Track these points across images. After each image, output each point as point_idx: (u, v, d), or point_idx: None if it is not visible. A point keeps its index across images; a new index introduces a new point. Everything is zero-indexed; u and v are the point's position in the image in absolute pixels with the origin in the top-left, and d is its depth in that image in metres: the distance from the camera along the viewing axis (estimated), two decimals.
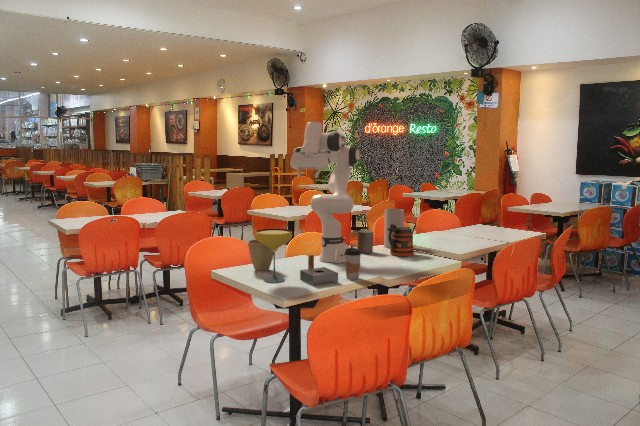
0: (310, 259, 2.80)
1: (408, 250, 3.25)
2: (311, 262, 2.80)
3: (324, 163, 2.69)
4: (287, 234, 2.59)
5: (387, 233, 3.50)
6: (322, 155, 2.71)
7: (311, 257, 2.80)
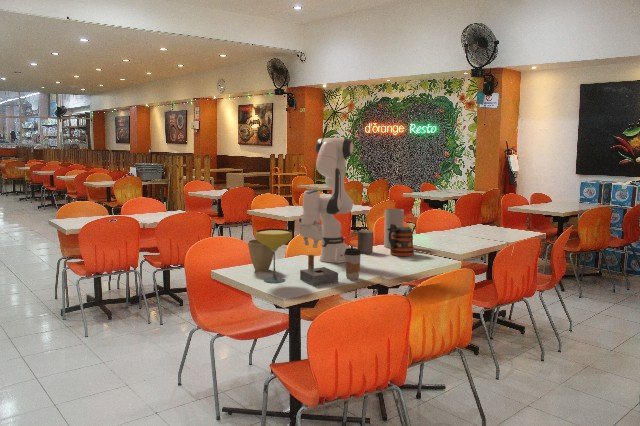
0: (310, 259, 2.80)
1: (408, 250, 3.25)
2: (311, 262, 2.80)
3: (316, 236, 2.70)
4: (287, 234, 2.59)
5: (387, 233, 3.50)
6: (314, 227, 2.71)
7: (311, 257, 2.80)
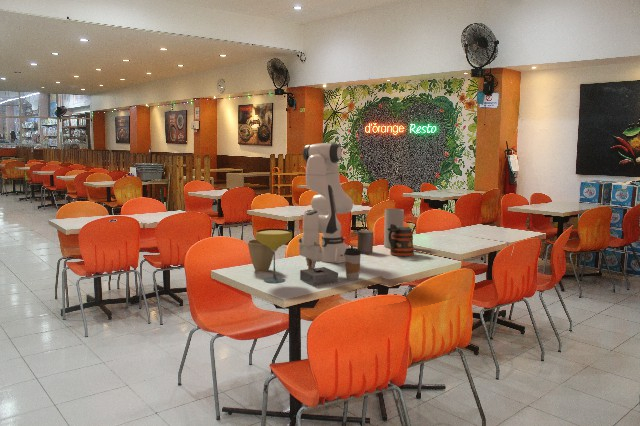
0: (310, 259, 2.80)
1: (408, 250, 3.25)
2: (311, 262, 2.80)
3: (316, 257, 2.72)
4: (287, 234, 2.59)
5: (387, 233, 3.50)
6: (314, 249, 2.73)
7: None
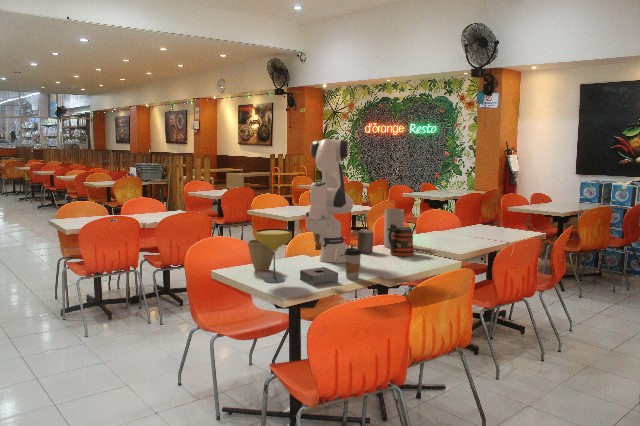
0: (318, 234, 2.62)
1: (408, 250, 3.25)
2: (319, 237, 2.62)
3: (324, 231, 2.54)
4: (287, 234, 2.59)
5: (387, 233, 3.50)
6: (323, 222, 2.55)
7: None
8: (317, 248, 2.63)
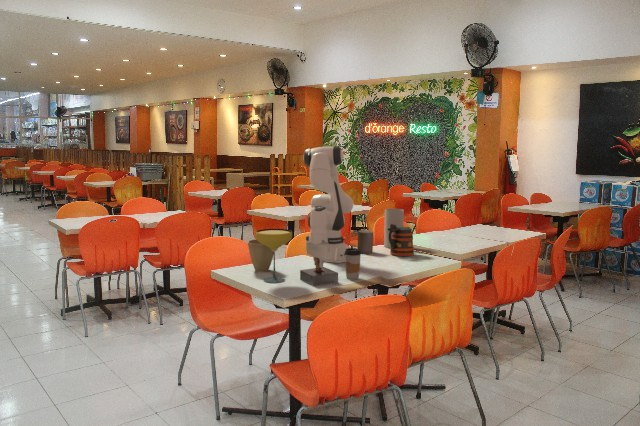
0: (318, 258, 2.63)
1: (408, 250, 3.25)
2: (319, 261, 2.64)
3: (324, 256, 2.56)
4: (287, 234, 2.59)
5: (387, 233, 3.50)
6: (323, 247, 2.57)
7: None
8: (317, 272, 2.64)
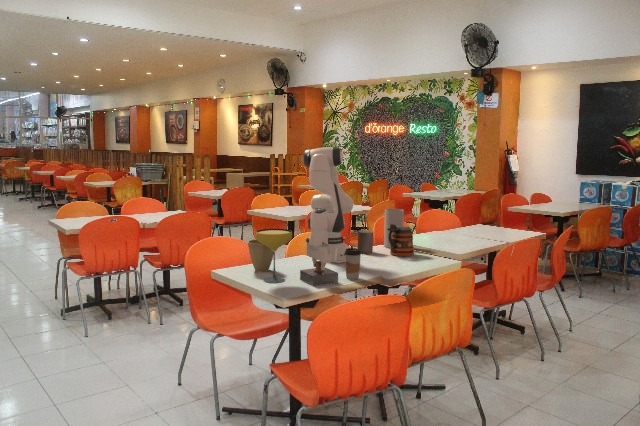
0: (318, 266, 2.64)
1: (408, 250, 3.25)
2: (319, 269, 2.64)
3: (324, 258, 2.56)
4: (287, 234, 2.59)
5: (387, 233, 3.50)
6: (323, 249, 2.57)
7: (319, 264, 2.64)
8: None
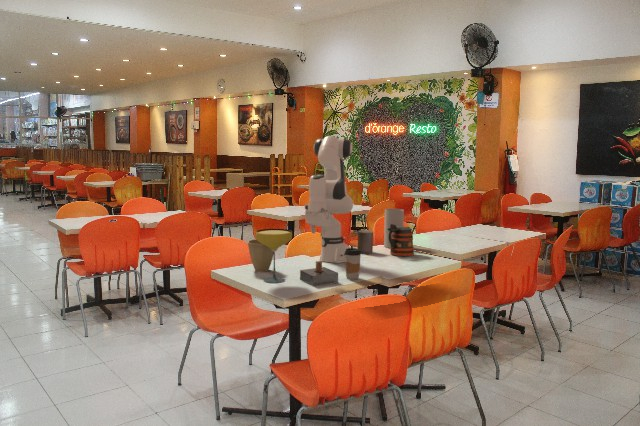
0: (318, 266, 2.64)
1: (408, 250, 3.25)
2: (319, 269, 2.64)
3: (324, 224, 2.57)
4: (287, 234, 2.59)
5: (387, 233, 3.50)
6: (322, 215, 2.58)
7: (319, 264, 2.64)
8: None
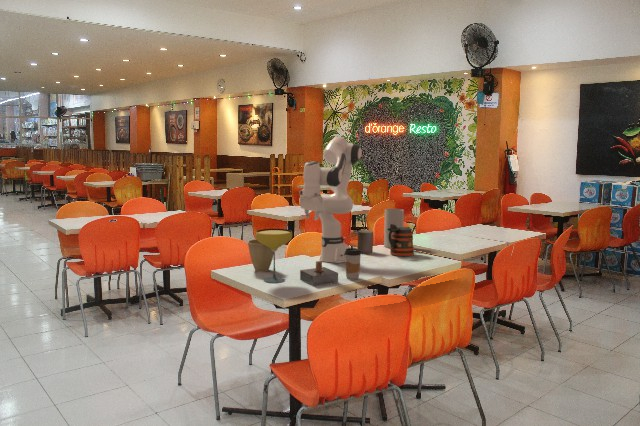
0: (318, 266, 2.64)
1: (408, 250, 3.25)
2: (319, 269, 2.64)
3: (317, 208, 2.70)
4: (287, 234, 2.59)
5: (387, 233, 3.50)
6: (315, 199, 2.71)
7: (319, 264, 2.64)
8: None
